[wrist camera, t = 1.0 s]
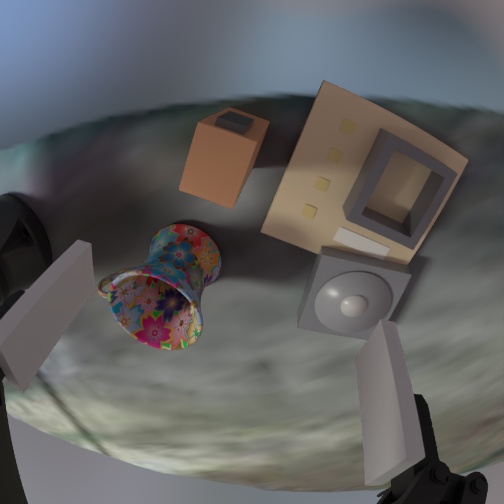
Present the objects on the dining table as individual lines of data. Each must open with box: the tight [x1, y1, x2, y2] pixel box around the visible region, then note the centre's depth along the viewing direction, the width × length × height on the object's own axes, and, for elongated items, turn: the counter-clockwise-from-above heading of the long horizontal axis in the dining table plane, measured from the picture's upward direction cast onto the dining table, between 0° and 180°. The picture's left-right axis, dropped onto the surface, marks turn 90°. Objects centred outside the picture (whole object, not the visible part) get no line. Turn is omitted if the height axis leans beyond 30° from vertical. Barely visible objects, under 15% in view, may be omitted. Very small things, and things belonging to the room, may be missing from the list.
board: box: [261, 80, 468, 265], centre depth 28 cm, size 16×16×4 cm
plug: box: [179, 107, 270, 209], centre depth 25 cm, size 4×6×10 cm
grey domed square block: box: [297, 246, 412, 340], centre depth 34 cm, size 10×10×4 cm
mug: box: [97, 224, 221, 350], centre depth 32 cm, size 12×9×11 cm
